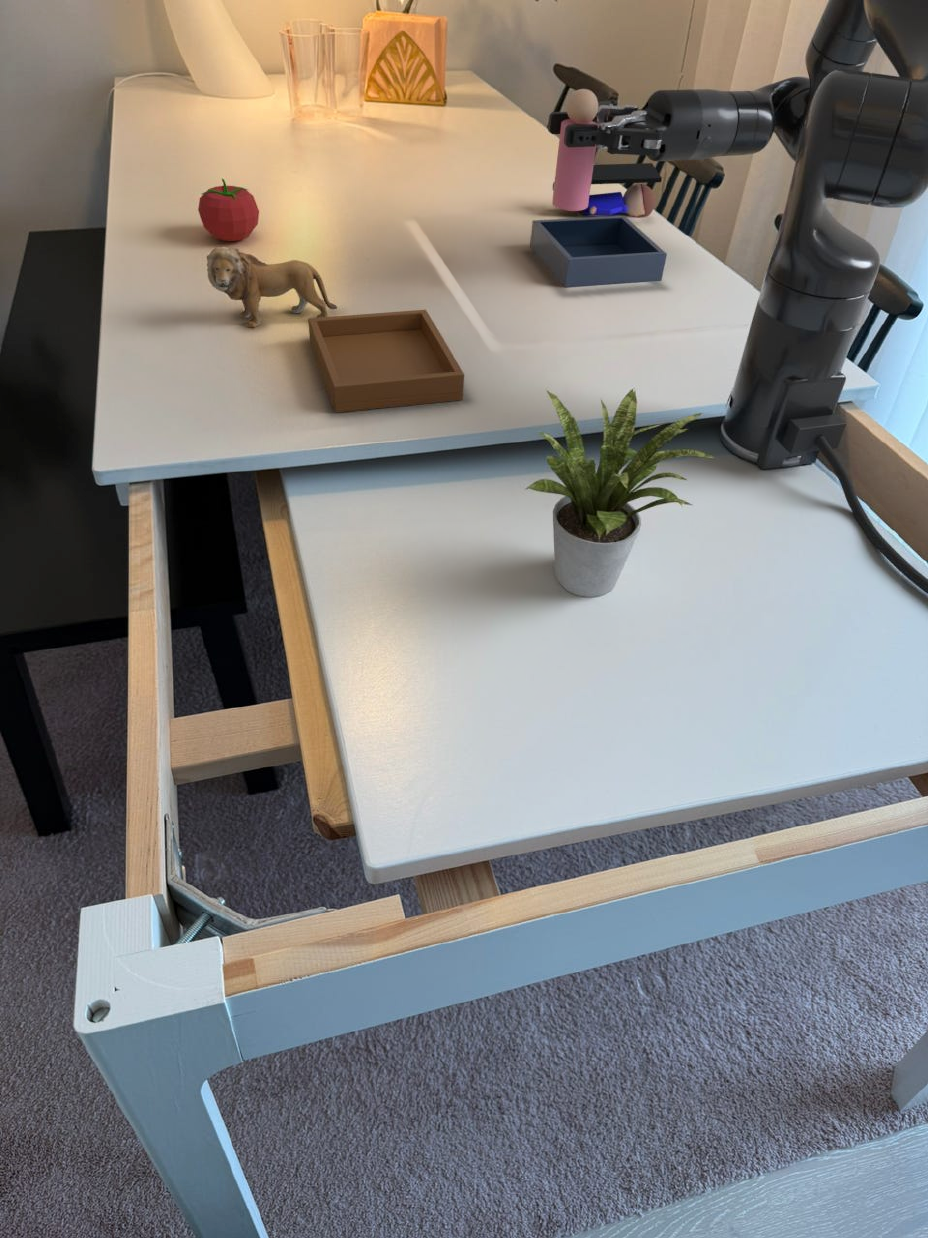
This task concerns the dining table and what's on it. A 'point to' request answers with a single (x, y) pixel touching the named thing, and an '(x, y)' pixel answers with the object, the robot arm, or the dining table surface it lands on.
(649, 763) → the dining table surface
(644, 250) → the blue square open box
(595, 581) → the house plant
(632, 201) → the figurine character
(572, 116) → the doll
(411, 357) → the tray
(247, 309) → the lion figurine
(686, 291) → the dining table surface
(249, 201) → the tomato
